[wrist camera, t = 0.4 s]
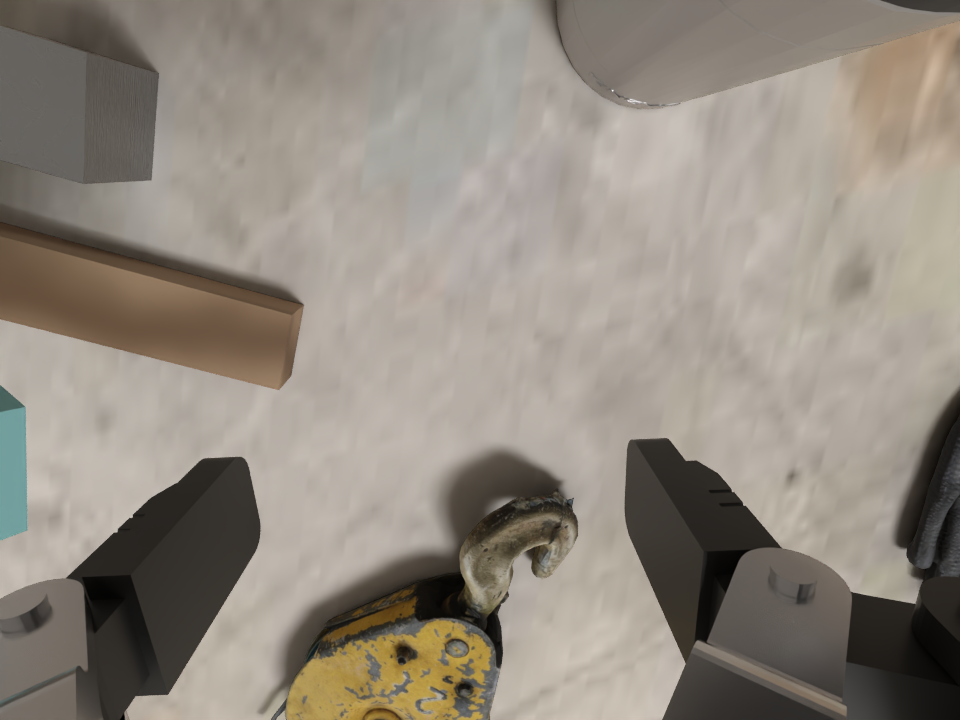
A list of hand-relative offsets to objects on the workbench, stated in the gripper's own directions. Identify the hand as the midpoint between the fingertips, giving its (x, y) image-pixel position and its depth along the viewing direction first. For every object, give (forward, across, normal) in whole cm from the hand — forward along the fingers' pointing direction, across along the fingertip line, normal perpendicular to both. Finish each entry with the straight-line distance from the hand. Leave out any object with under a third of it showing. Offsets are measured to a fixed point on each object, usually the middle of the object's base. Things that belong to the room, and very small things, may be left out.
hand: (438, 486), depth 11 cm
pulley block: (+20, +3, +24) cm, 32 cm away
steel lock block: (+18, +17, -10) cm, 27 cm away
